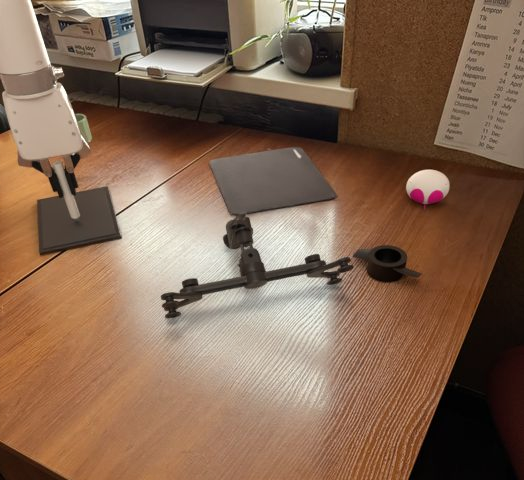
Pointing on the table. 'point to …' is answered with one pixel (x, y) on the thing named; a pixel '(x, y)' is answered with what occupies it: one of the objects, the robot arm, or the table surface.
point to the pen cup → (83, 127)
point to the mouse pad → (269, 180)
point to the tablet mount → (250, 269)
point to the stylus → (66, 190)
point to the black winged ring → (385, 263)
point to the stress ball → (427, 186)
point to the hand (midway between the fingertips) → (67, 192)
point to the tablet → (76, 233)
